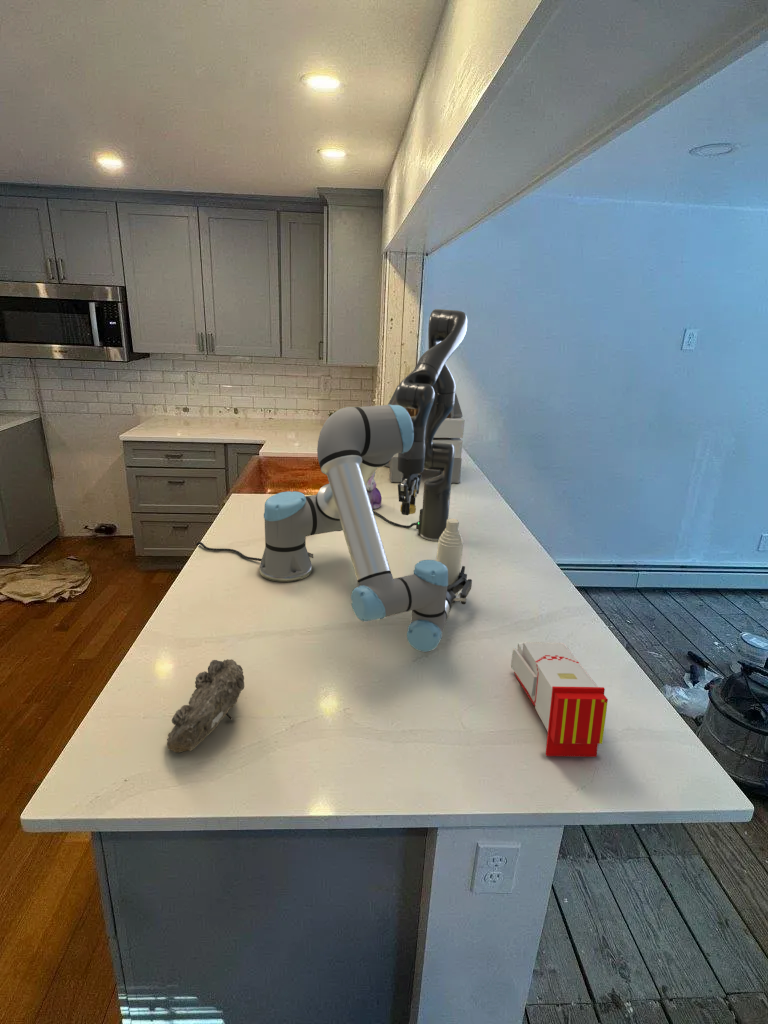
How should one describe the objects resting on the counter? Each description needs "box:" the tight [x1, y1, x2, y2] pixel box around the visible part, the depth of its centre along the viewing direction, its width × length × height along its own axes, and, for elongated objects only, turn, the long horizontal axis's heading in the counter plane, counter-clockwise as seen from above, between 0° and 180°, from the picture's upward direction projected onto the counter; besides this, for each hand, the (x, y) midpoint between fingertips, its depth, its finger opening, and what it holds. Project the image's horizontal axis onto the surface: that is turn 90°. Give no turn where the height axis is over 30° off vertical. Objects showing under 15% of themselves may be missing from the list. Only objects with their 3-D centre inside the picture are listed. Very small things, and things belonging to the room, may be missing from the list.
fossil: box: [166, 658, 245, 754], centre depth 106 cm, size 22×10×15 cm
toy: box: [510, 641, 609, 758], centre depth 113 cm, size 12×13×30 cm
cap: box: [400, 504, 417, 515], centre depth 165 cm, size 4×4×2 cm
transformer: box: [384, 384, 465, 484], centre depth 268 cm, size 34×33×41 cm
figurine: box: [365, 471, 383, 510], centre depth 223 cm, size 9×10×15 cm
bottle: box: [435, 518, 464, 603], centre depth 153 cm, size 7×7×23 cm
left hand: (450, 568), depth 159 cm, fingers closed on bottle, 7 cm apart
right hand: (408, 511), depth 165 cm, fingers closed on cap, 4 cm apart
